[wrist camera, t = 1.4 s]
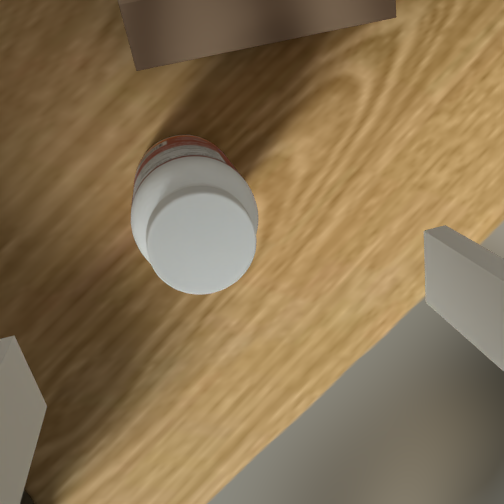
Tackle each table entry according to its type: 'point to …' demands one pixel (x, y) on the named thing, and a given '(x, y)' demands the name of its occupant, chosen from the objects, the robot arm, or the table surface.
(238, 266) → the pill bottle
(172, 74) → the table surface
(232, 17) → the bore block
